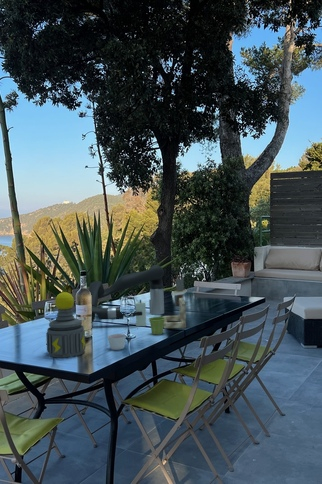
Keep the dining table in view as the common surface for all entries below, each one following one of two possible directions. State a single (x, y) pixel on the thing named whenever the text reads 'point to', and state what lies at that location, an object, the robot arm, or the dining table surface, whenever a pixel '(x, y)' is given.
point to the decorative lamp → (65, 330)
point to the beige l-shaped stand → (177, 317)
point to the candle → (116, 341)
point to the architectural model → (179, 290)
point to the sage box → (142, 308)
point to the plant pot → (157, 325)
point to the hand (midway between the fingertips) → (142, 312)
